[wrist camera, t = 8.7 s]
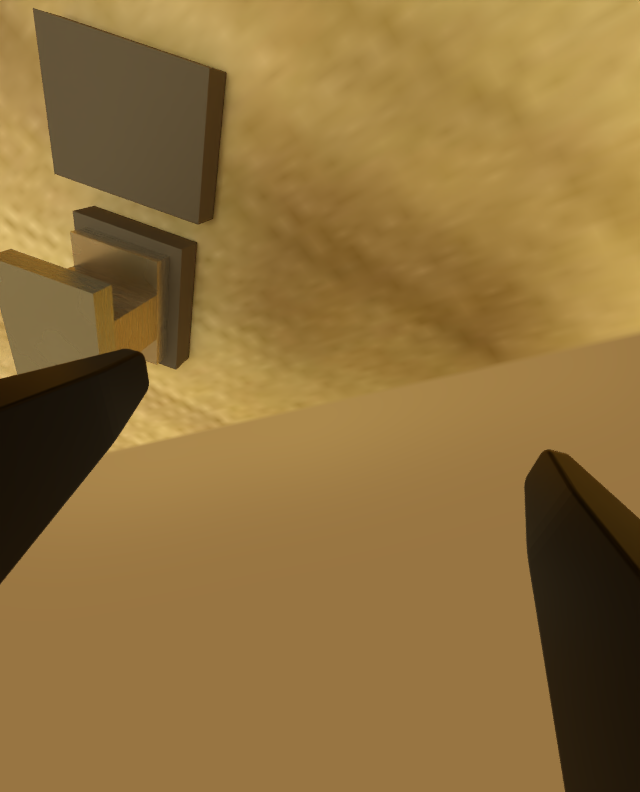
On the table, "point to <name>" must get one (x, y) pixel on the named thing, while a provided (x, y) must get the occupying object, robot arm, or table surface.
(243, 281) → the table surface
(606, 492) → the robot arm
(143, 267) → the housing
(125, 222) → the stand
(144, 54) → the stand
